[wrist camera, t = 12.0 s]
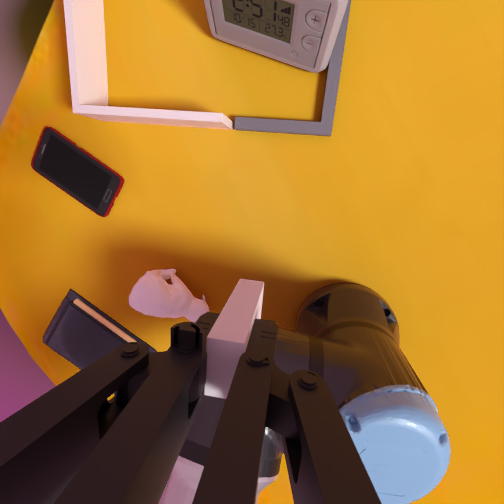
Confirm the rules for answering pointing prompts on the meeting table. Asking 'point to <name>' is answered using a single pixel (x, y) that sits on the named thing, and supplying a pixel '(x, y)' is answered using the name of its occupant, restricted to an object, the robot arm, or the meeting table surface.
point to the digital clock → (280, 28)
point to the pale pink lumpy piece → (165, 297)
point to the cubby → (95, 75)
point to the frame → (328, 105)
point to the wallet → (85, 332)
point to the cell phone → (76, 172)
